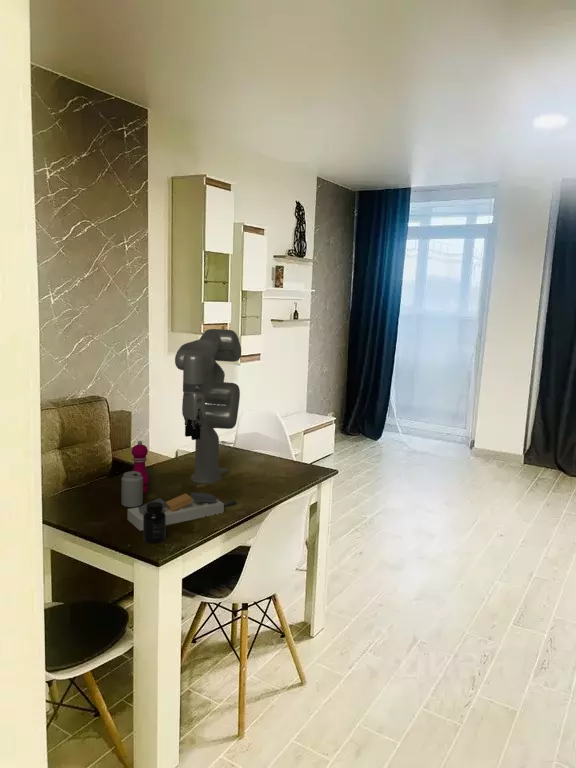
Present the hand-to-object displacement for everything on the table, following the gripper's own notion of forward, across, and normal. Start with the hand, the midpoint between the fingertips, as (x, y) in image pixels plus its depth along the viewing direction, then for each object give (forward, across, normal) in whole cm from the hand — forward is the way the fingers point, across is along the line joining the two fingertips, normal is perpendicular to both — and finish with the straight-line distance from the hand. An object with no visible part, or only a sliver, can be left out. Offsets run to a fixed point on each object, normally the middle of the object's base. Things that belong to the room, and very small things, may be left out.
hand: (192, 437), depth 217 cm
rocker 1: (+19, -10, +20) cm, 29 cm away
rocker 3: (+19, -10, 0) cm, 22 cm away
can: (+26, +9, +19) cm, 33 cm away
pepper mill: (+26, +22, +11) cm, 35 cm away
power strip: (+25, -9, +10) cm, 29 cm away
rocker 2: (+19, -10, +10) cm, 24 cm away
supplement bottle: (+26, -23, +24) cm, 42 cm away
